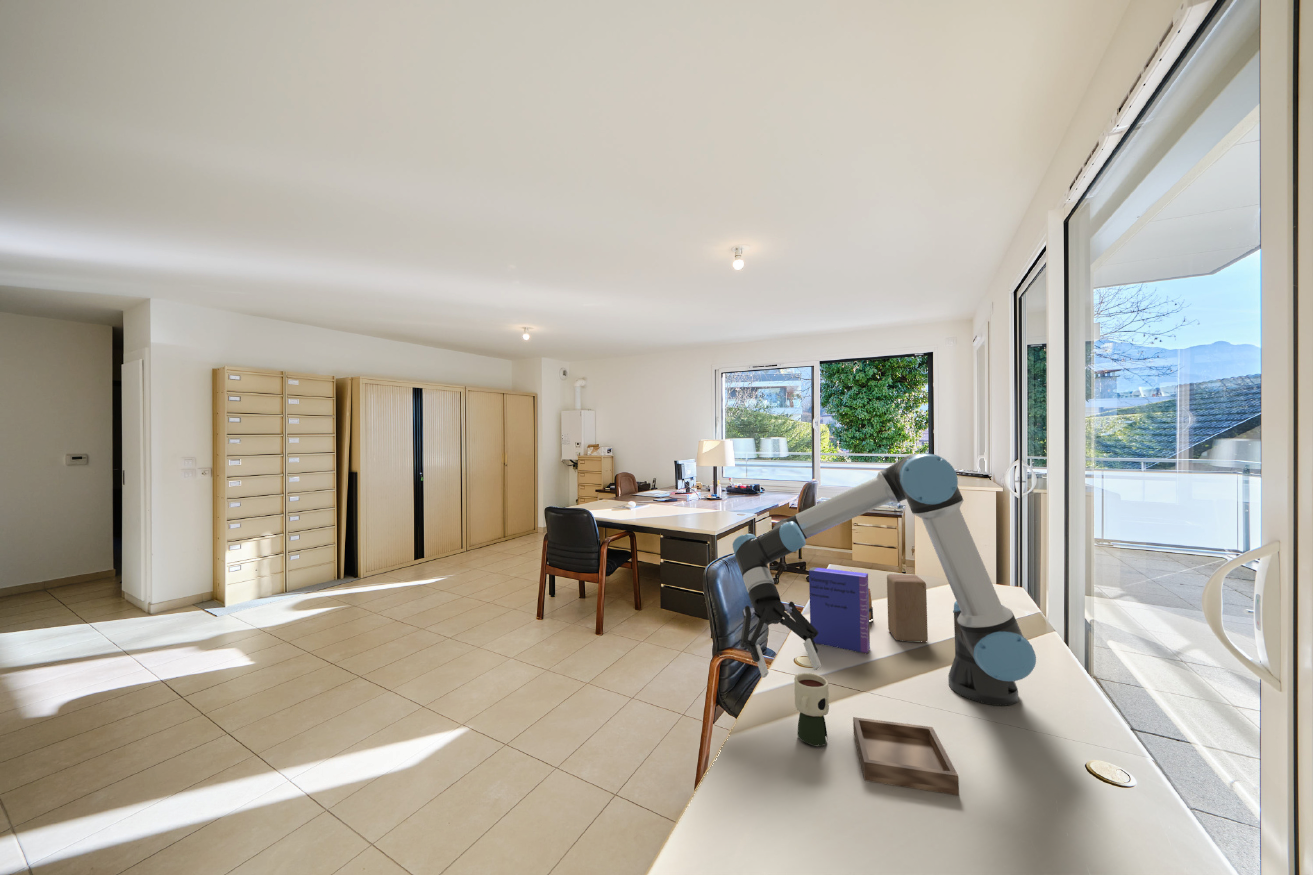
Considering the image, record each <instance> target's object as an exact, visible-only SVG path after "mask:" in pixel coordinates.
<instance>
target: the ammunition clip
mask: <svg viewBox="0 0 1313 875" xmlns="http://www.w3.org/2000/svg"><path fill="white" fill-rule="evenodd" d="M868 591H869V620H871V619H873V620H874V609H873V608H874V607H872V606H873V604H872V602H873V601H872V594H871V592H872V591H871V589H870V588H868Z"/></svg>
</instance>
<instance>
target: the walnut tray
mask: <svg viewBox="0 0 1313 875" xmlns="http://www.w3.org/2000/svg"><path fill="white" fill-rule="evenodd" d="M852 722H853V724H852V725H853V727H852V728H853V731H852V732H853V737H854V741H855V746H856V748H857V754H858V758H859V762H860V766H861V771H862V774H863V779H864V781H865V782H866V781H867V782H872V783H878V784H884V785H885V784H886V785H891V786H898V787H904V788H908V789H909V788H910V789H916V790H921V791H922V790H924V791H929V792H934V793H941V794H942V793H943V794H947V795H948V794H949V795H953V796H960V789H959V788H960V785H959V784H960V782H959V780H960V779H959V774H958V772H957V771H956V768H955V766H954V765H953V763H952V761H951V759H950V757H949V755H948V753H947V751H946V749H945V748H944V746H943V744H942V741H941V740H940V739H939V736H938V735H937V733H936V731H935V729H934V727H933V726H926V725H921V724H912V723H903V722H894V721H887V720H881V719H871V718H862V717H856V716H855V717H854V716H853V717H852Z"/></svg>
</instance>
